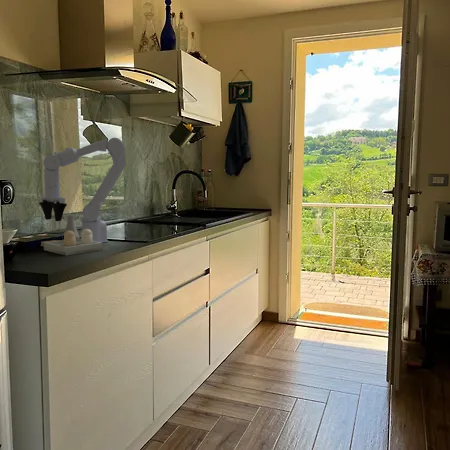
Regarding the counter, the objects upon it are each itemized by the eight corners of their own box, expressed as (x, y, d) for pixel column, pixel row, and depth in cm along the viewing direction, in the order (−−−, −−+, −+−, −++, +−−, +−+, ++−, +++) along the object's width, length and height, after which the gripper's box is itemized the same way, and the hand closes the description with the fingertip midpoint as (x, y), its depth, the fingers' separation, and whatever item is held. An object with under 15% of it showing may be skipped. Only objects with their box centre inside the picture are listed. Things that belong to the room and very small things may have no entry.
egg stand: (57, 243, 181) (57, 240, 181) (66, 245, 177) (66, 242, 177) (40, 245, 176) (40, 242, 176) (49, 248, 172) (49, 244, 171)
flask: (82, 237, 199) (81, 214, 198) (77, 239, 192) (76, 216, 191) (65, 237, 199) (64, 214, 198) (59, 239, 192) (59, 216, 191)
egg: (71, 248, 166) (71, 229, 165) (78, 249, 164) (77, 230, 163) (61, 249, 163) (61, 230, 162) (68, 251, 161) (67, 231, 160)
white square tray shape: (79, 245, 179) (79, 225, 178) (102, 250, 170) (102, 229, 169) (44, 250, 168) (43, 228, 167) (66, 255, 158) (65, 232, 157)
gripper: (33, 185, 181) (34, 219, 182) (52, 186, 171) (53, 222, 173) (50, 185, 186) (50, 218, 188) (69, 186, 177) (70, 221, 178)
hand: (53, 220), depth 181 cm, fingers open, 7 cm apart
